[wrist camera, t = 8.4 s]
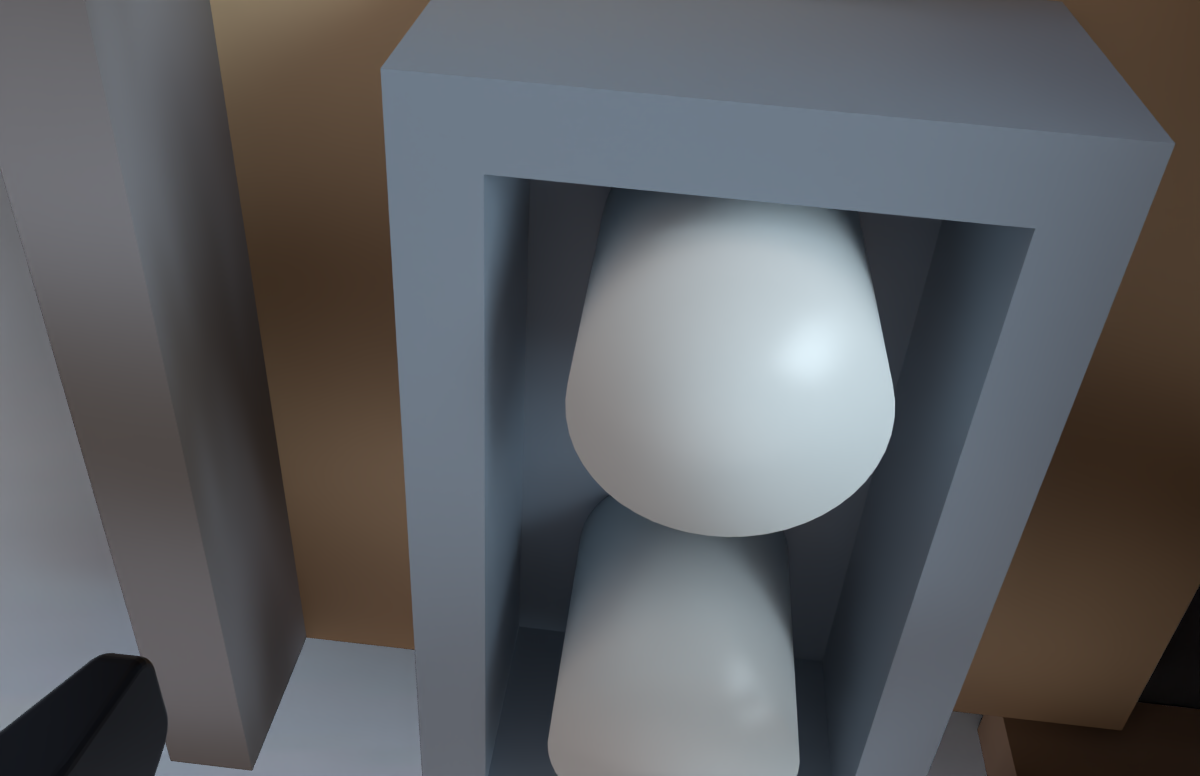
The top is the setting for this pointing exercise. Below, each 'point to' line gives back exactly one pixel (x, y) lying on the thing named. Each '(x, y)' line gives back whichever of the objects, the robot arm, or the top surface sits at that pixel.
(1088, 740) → the open wooden box
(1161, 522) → the shelf board
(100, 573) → the top surface
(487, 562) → the tray
